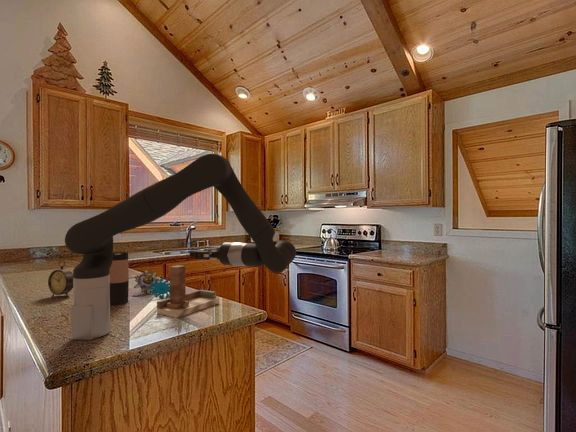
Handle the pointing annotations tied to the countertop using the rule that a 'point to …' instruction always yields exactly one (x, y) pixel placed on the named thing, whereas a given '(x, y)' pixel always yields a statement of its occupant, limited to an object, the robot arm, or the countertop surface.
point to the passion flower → (146, 281)
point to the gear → (160, 288)
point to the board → (196, 302)
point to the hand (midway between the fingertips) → (199, 252)
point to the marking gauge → (177, 288)
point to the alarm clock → (61, 281)
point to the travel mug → (119, 279)
